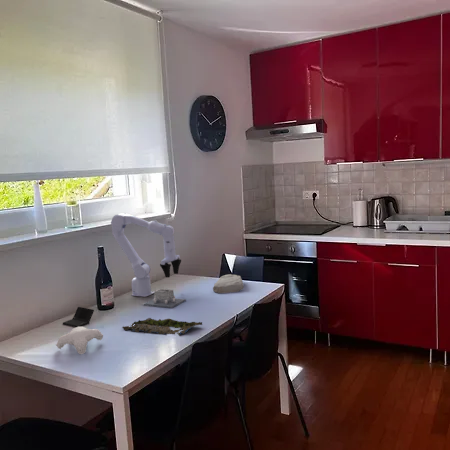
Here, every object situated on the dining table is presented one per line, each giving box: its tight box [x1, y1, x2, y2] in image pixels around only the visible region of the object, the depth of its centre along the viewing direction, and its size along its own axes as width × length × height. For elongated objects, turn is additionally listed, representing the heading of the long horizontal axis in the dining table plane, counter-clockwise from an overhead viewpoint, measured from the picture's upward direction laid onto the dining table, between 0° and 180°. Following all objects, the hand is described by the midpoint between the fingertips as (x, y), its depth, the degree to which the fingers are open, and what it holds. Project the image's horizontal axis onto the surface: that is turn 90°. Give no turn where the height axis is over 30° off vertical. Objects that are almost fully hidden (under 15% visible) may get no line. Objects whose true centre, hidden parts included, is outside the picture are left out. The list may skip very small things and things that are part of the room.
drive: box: [154, 288, 175, 303], centre depth 225 cm, size 8×4×6 cm, turn 62°
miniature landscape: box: [121, 317, 203, 336], centre depth 190 cm, size 32×12×3 cm, turn 67°
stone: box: [212, 273, 244, 294], centre depth 246 cm, size 21×15×5 cm
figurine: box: [55, 326, 104, 355], centre depth 175 cm, size 17×9×18 cm
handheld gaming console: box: [62, 306, 95, 328], centre depth 205 cm, size 12×7×10 cm
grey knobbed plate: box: [143, 295, 187, 309], centre depth 225 cm, size 16×12×3 cm
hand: (171, 275), depth 241 cm, fingers open, 7 cm apart
